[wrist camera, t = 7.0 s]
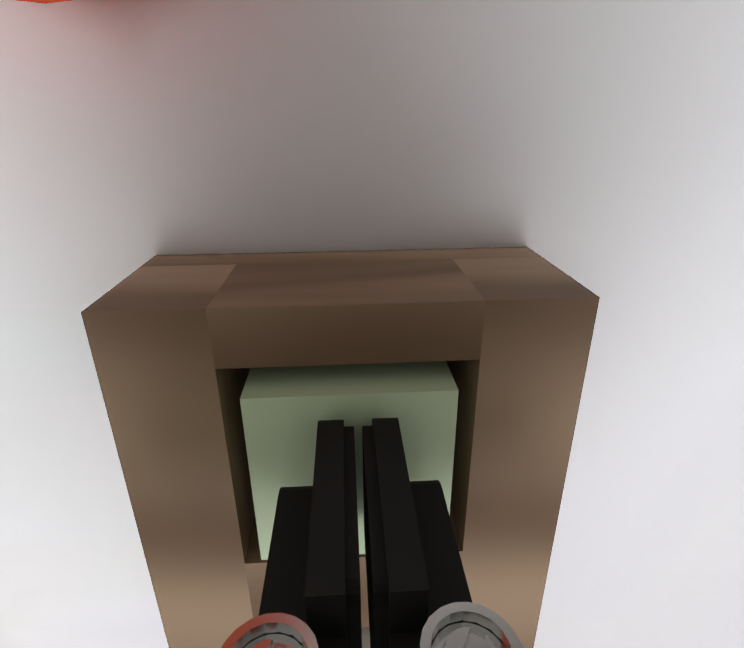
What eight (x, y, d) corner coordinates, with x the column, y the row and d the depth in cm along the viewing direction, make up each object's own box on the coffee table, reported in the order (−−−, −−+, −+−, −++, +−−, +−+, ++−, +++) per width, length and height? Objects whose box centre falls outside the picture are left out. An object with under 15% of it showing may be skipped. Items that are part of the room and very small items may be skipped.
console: (154, 255, 13) (81, 312, 9) (527, 247, 13) (599, 297, 10) (251, 765, 22) (233, 894, 19) (466, 748, 23) (490, 869, 19)
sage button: (258, 346, 12) (239, 399, 10) (436, 340, 12) (458, 390, 10) (273, 487, 14) (261, 560, 11) (429, 480, 14) (446, 549, 12)
